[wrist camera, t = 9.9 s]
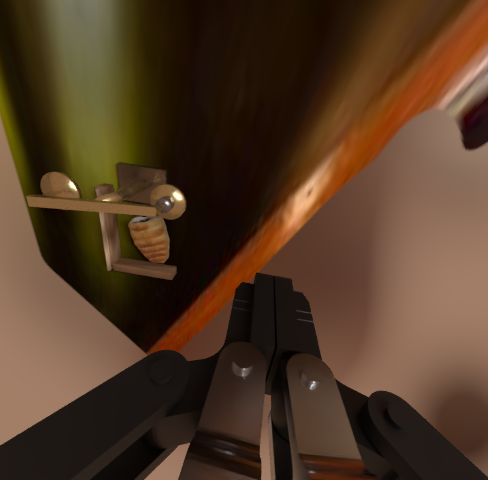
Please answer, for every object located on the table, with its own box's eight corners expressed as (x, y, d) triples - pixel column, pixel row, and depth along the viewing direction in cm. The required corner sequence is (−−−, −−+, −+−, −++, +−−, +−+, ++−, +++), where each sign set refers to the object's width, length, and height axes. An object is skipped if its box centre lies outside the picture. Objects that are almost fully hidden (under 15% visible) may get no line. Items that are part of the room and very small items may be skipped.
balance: (94, 193, 41) (14, 222, 28) (89, 157, 38) (-3, 171, 25) (198, 209, 40) (165, 247, 27) (200, 174, 38) (164, 197, 25)
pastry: (179, 257, 45) (171, 267, 42) (147, 260, 46) (138, 271, 43) (163, 211, 41) (153, 218, 38) (129, 217, 42) (117, 224, 39)
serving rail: (104, 183, 40) (92, 187, 37) (177, 195, 39) (170, 200, 37) (114, 262, 47) (105, 270, 44) (176, 272, 46) (170, 281, 44)
